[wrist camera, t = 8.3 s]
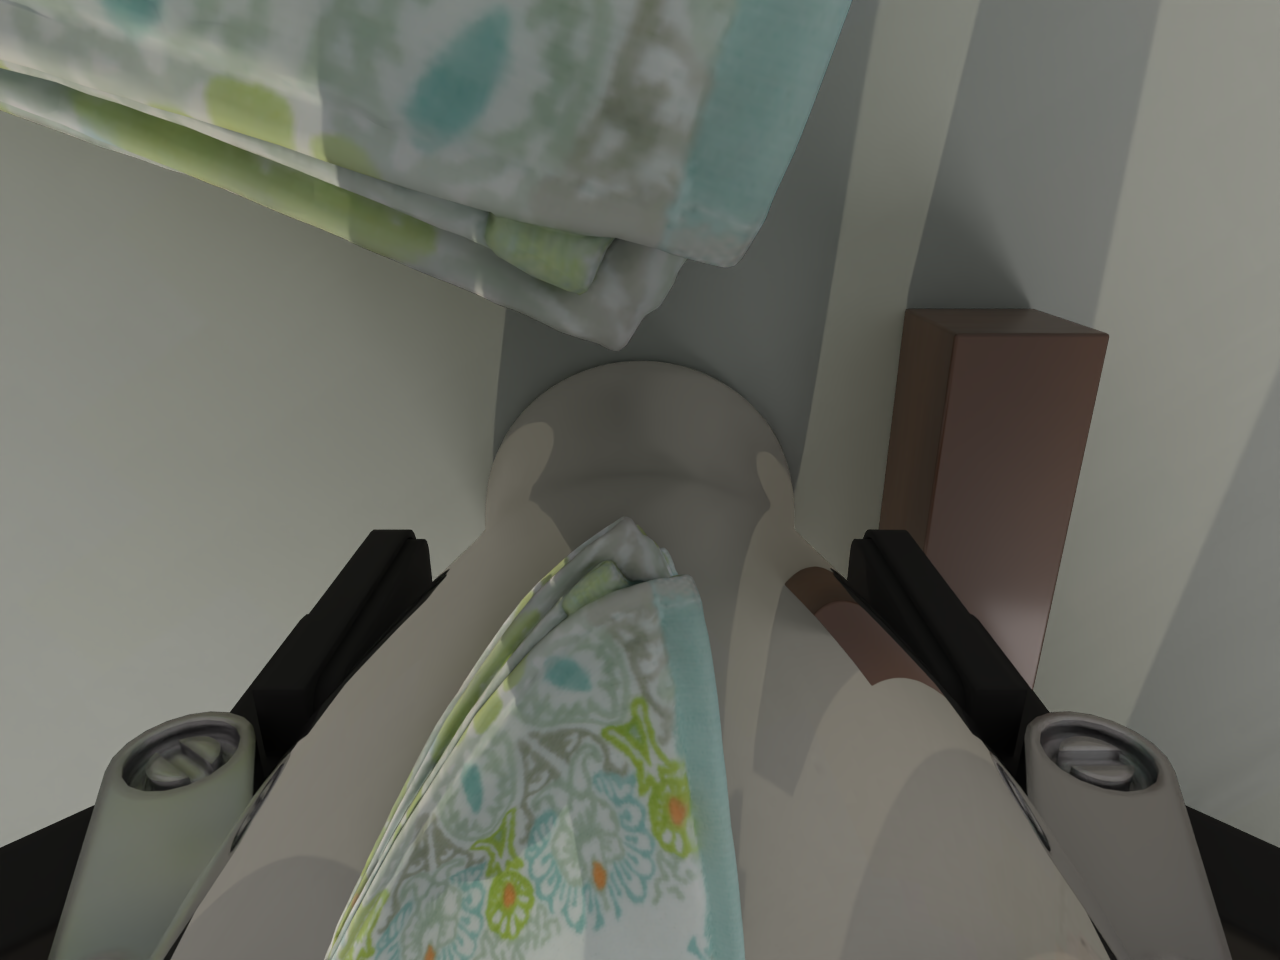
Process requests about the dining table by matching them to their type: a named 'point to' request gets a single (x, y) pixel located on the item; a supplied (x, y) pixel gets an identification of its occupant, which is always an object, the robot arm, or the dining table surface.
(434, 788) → the beer glass
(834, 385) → the dining table surface
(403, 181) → the towel
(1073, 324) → the rail
